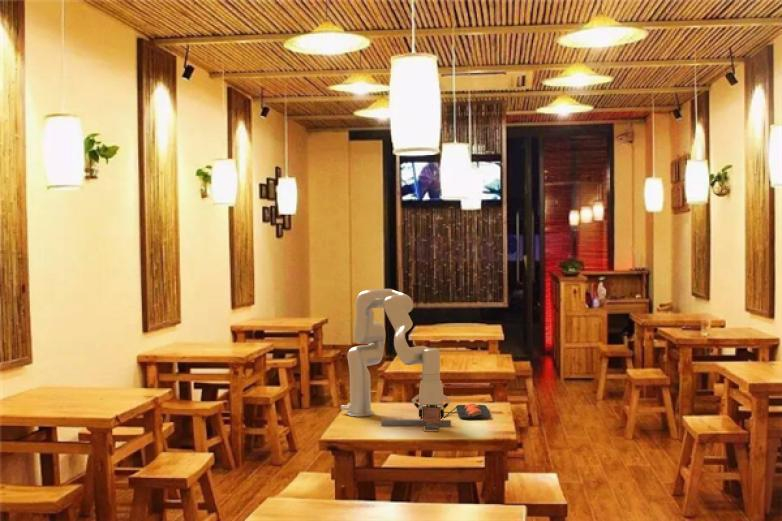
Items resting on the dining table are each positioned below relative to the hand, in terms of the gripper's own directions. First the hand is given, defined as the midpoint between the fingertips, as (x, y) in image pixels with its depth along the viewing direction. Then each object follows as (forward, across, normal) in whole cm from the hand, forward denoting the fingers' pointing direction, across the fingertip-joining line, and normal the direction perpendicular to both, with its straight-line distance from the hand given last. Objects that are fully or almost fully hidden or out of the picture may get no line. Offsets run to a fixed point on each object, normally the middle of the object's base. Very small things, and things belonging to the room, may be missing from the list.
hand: (431, 418), depth 364 cm
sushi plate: (+5, +10, +33) cm, 35 cm away
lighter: (+3, 0, 0) cm, 3 cm away
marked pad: (+4, 0, 0) cm, 4 cm away
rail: (+4, -7, +6) cm, 10 cm away
